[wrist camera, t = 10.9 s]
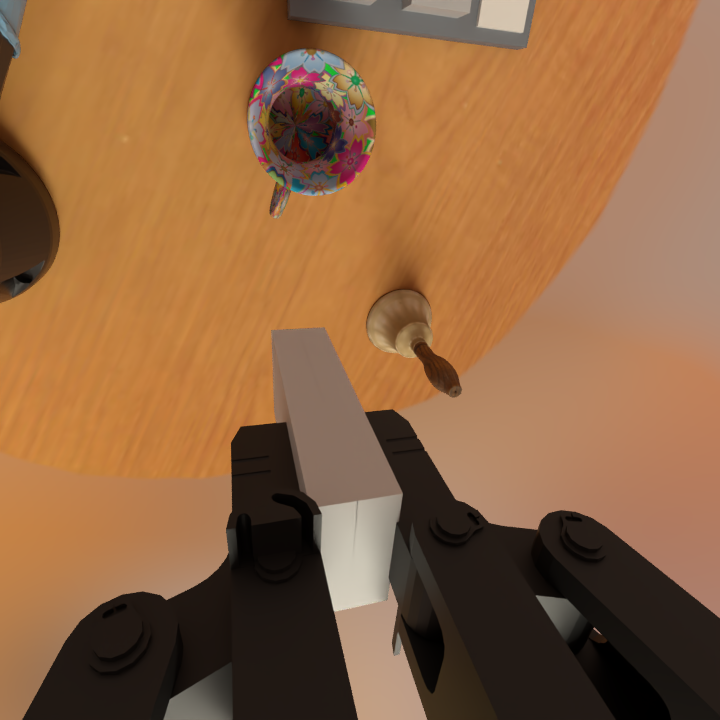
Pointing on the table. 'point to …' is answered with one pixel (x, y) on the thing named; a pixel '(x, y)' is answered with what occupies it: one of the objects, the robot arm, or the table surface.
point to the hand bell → (410, 335)
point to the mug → (310, 124)
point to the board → (427, 18)
